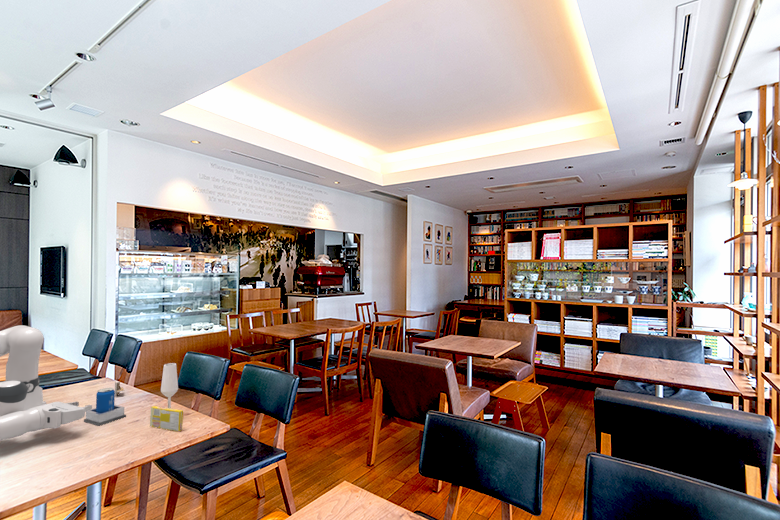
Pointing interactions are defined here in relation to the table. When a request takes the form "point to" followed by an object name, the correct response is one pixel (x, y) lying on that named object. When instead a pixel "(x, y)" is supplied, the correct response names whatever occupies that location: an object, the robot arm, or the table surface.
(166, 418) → the candy box
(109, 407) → the beverage can
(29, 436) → the table surface
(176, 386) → the champagne flute
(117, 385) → the architectural model
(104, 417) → the can holder
